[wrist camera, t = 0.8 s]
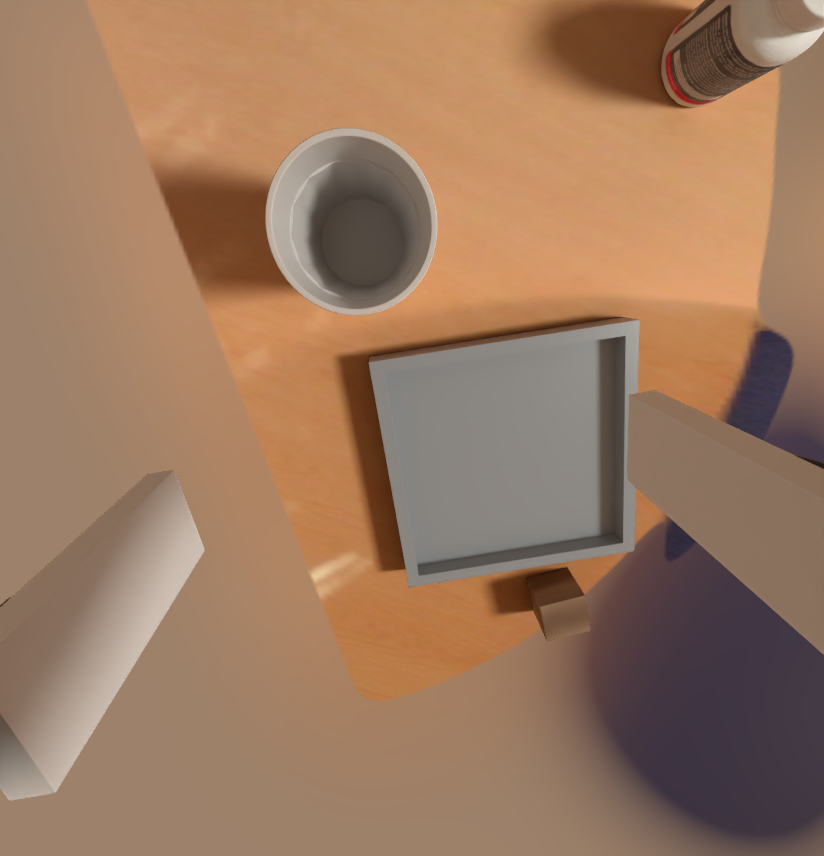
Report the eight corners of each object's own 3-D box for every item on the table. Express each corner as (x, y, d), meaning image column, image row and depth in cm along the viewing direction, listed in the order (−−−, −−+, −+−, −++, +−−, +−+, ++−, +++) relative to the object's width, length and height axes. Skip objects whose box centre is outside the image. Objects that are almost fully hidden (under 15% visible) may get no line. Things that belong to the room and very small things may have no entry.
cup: (309, 300, 33) (271, 312, 22) (305, 179, 30) (258, 122, 19) (416, 304, 34) (433, 318, 22) (421, 185, 31) (442, 132, 20)
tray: (369, 356, 35) (368, 362, 32) (622, 316, 35) (639, 319, 32) (407, 569, 41) (409, 587, 39) (619, 535, 41) (634, 550, 39)
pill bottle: (722, 114, 31) (868, 44, 21) (648, 104, 30) (765, 28, 21) (748, 17, 29) (919, -104, 20) (670, 5, 29) (808, -125, 19)
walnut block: (525, 577, 42) (539, 606, 39) (566, 566, 42) (584, 595, 38) (533, 609, 44) (547, 641, 40) (572, 599, 44) (590, 630, 40)
